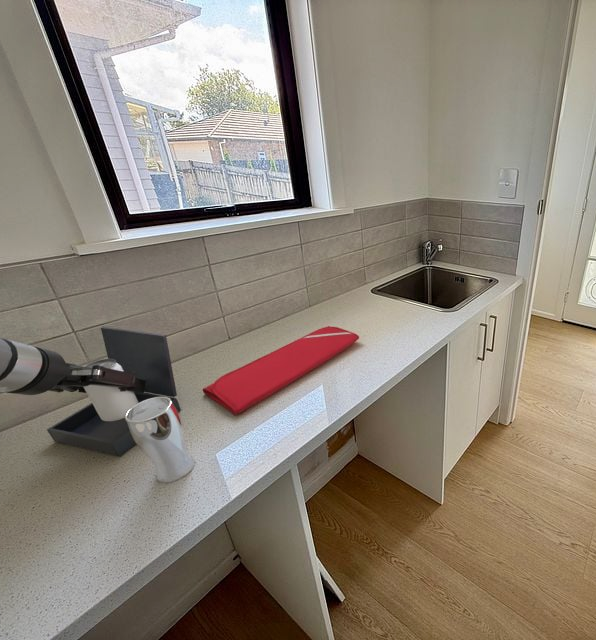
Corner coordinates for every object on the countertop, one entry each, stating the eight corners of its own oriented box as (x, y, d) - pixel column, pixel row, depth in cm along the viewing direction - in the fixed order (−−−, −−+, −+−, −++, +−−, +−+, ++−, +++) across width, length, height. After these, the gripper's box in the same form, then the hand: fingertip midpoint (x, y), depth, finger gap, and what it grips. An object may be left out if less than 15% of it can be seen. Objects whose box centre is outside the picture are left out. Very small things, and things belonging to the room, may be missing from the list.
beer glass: (160, 460, 66) (131, 400, 60) (201, 450, 68) (177, 392, 62) (148, 489, 60) (115, 427, 54) (193, 478, 63) (166, 416, 56)
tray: (120, 457, 67) (113, 443, 65) (54, 442, 70) (46, 429, 69) (181, 410, 79) (176, 398, 78) (123, 399, 83) (117, 387, 81)
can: (145, 409, 74) (124, 363, 68) (108, 427, 69) (82, 379, 63) (132, 398, 77) (111, 354, 71) (96, 415, 72) (70, 368, 66)
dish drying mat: (202, 393, 85) (198, 381, 83) (327, 331, 115) (326, 321, 114) (236, 418, 77) (232, 405, 75) (361, 344, 108) (360, 334, 106)
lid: (162, 336, 73) (166, 335, 74) (100, 327, 76) (104, 326, 77) (174, 397, 77) (177, 395, 78) (114, 386, 80) (118, 385, 81)
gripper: (-65, 398, 50) (71, 409, 72) (82, 387, 53) (170, 401, 74) (-48, 349, 52) (79, 374, 74) (92, 341, 55) (175, 367, 77)
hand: (125, 387), depth 74 cm, fingers closed on can, 6 cm apart
